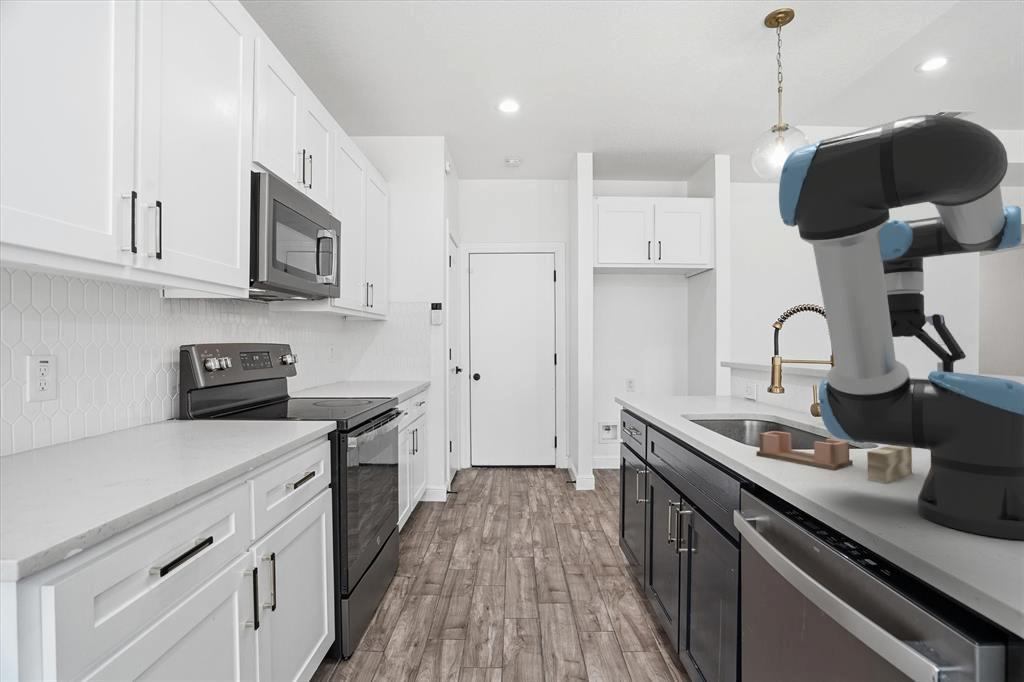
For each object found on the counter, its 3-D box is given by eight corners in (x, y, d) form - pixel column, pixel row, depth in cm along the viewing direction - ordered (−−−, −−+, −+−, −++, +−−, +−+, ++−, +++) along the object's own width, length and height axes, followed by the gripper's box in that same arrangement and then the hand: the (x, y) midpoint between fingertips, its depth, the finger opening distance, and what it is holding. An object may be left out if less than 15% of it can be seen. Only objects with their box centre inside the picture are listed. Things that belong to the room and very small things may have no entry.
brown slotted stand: (835, 465, 109) (834, 445, 109) (759, 451, 124) (759, 433, 124) (849, 460, 113) (849, 441, 113) (774, 447, 128) (774, 430, 128)
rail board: (833, 470, 109) (833, 465, 109) (756, 455, 124) (756, 451, 124) (852, 464, 113) (852, 460, 114) (775, 451, 129) (775, 447, 129)
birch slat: (884, 484, 98) (884, 454, 98) (867, 480, 101) (867, 451, 101) (911, 473, 106) (911, 446, 106) (895, 470, 109) (894, 444, 109)
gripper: (984, 289, 97) (986, 395, 96) (846, 300, 118) (847, 387, 118) (971, 286, 93) (973, 397, 92) (830, 298, 114) (831, 388, 114)
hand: (902, 392), depth 105 cm, fingers open, 13 cm apart
